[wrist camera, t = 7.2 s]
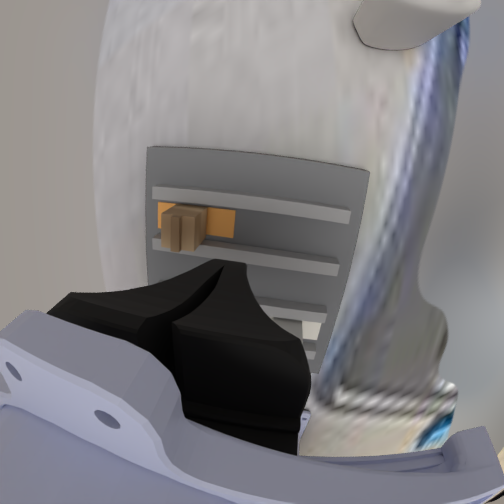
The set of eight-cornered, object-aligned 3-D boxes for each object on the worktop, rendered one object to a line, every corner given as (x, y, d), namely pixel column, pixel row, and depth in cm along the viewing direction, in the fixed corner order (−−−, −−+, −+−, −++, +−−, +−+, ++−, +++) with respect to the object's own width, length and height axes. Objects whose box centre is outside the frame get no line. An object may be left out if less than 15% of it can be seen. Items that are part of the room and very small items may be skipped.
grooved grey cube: (296, 341, 21) (296, 368, 18) (269, 337, 21) (266, 364, 18) (302, 319, 20) (302, 345, 17) (273, 315, 20) (270, 341, 17)
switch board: (317, 363, 23) (318, 382, 21) (159, 337, 24) (149, 352, 22) (365, 170, 17) (374, 173, 15) (155, 146, 18) (139, 147, 16)
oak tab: (205, 237, 18) (191, 254, 16) (176, 233, 19) (158, 249, 16) (207, 206, 18) (192, 219, 15) (177, 203, 18) (158, 215, 15)
